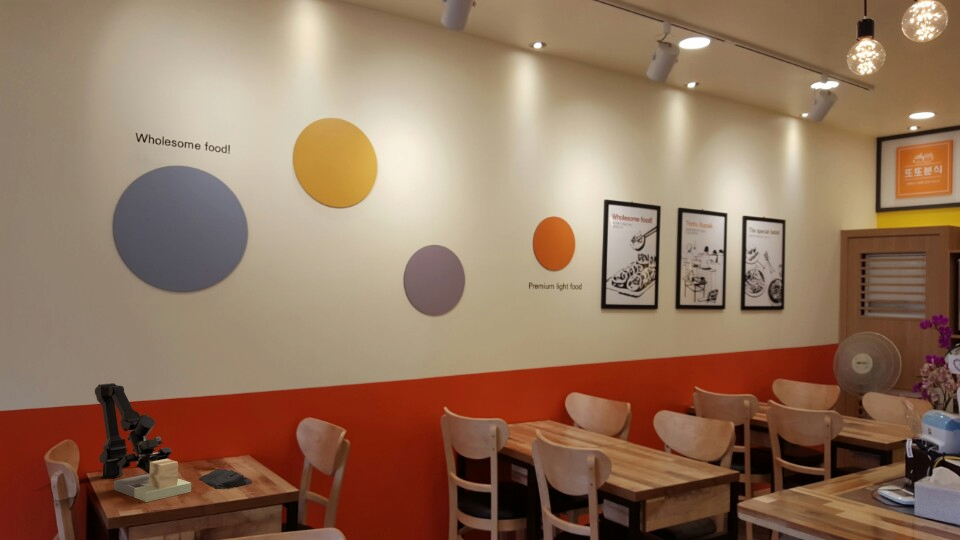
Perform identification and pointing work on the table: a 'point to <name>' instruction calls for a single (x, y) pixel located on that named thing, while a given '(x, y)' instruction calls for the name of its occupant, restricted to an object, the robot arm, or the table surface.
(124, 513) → the table surface
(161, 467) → the maple block
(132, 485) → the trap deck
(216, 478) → the dark slate chunk
